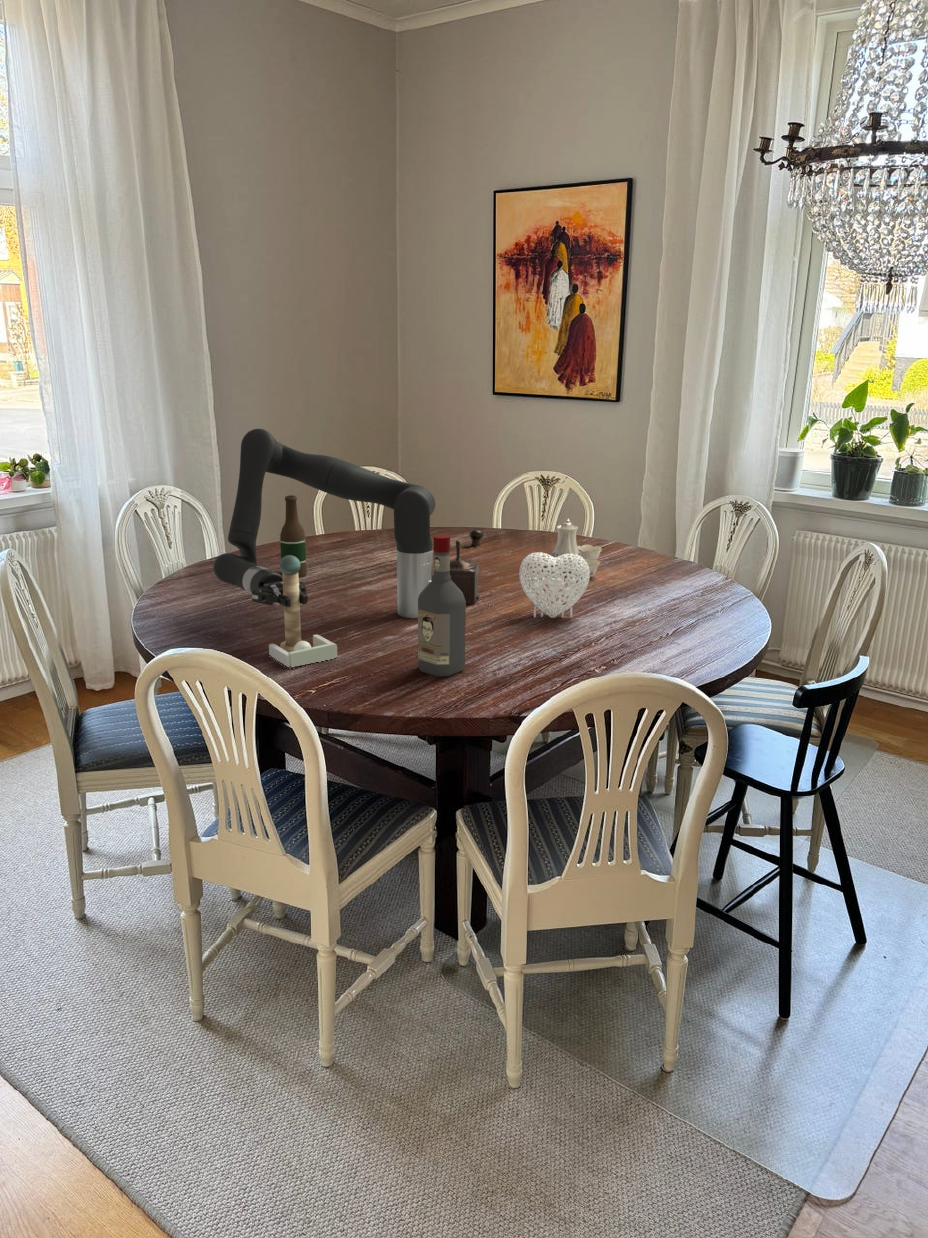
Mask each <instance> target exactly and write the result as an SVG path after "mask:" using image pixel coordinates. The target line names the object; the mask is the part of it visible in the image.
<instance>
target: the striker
mask: <svg viewBox="0 0 928 1238" xmlns="http://www.w3.org/2000/svg"><path fill="white" fill-rule="evenodd" d="M279 569H280V571H281V576H282V579H283V595H285V596H287V597H289V598H290V602H291V607H285V606H283V615H284V616H283V617H284V618H283V619H284V620H283V621H284V622H283V623H284V640H283V641H282V642H281V643H280V644H279V645H280V646H279V647H280V648H282V649H284V650H285V651H287V652H293V651H294V647H295V645H296V643H298V642H299V641H303V639H302V629H301V627H302V626H301V624H302V623H301V606H300V605H301V603H300V599H299V583H300V578H299V574H298V571H299V570H300V561H299V560H298V558H296V557H295V556H292V555H287V556H285V557H283V558H282V559H281V558H280V562H279ZM282 572H283V573H282Z"/></svg>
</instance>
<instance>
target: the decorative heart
mask: <svg viewBox="0 0 928 1238" xmlns="http://www.w3.org/2000/svg"><path fill="white" fill-rule="evenodd" d="M550 555H551V554H548V553H545V552H541V551H540V552H531V553H530V554H527V556H525V557H524V559H523V560H522V561H521V562H520V563H521V564H520V566H519V571H518V573H519V575H518V576H519V583H520V585H521V588H522V590H523V592H524V594H525V595H526V596H527V598H528V599H529V600H530V602H531V603H533V605H534V606H533V607H534V608H533V618H537V609H538V610H539V611H541V612H540V617H541V618H543V617H544V614H545V615H547V616H548V617H550V619H555V618H557V616H560V615H561V618H563V619H564V618H565V611H567V610H569V609H570V611H569V618H570V619H572V618H573V609H574V608H573V606H574V605H575V604H576V603H577V602H578V601H579V600H580V599H581V597H582V596H583V595H584V593H585V592H586V590H587V588H588V585H589V582H590V579H589V577H590V578H591V576H590V571H589V566H588V564H587V562H586V561H585V560H584V559H583V558H582V557H581V556H579V555H577V554H564V555H561V556H558V557H552V556H550ZM568 556H569V557H568ZM572 556H573V557H572ZM568 558H571V559H570V560H568ZM578 560H579V561H578ZM563 561H566V562H563ZM569 561H571V563H569ZM575 561H576V562H575ZM556 562H557V563H556ZM573 563H575V564H573ZM577 563H579V565H578V564H577ZM581 563H582V564H581ZM565 564H567V565H565ZM551 565H553V567H552V566H551ZM555 565H558V566H557V567H556V566H555ZM570 565H572V566H570ZM574 565H576V566H574ZM573 567H574V568H573ZM559 568H561V569H559ZM564 568H566V569H564ZM578 568H579V569H578ZM569 569H570V570H569ZM576 569H577V571H576ZM581 570H582V571H581ZM564 571H566V573H562V572H564ZM569 571H571V573H568V572H569ZM578 571H579V572H578ZM576 574H577V575H576ZM579 575H580V576H579ZM565 577H566V578H565ZM581 577H582V578H581ZM584 577H585V578H584ZM566 585H567V586H566ZM544 590H545V591H544ZM560 590H561V591H560ZM559 591H560V592H559ZM564 603H565V604H564Z"/></svg>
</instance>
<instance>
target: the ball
mask: <svg viewBox="0 0 928 1238" xmlns="http://www.w3.org/2000/svg"><path fill="white" fill-rule="evenodd" d="M311 647H312V646H311V643H310V642H308V641H306V640H302V641H299V642H298V643H296V645H295V647H294V651H297V650H302V649H306V648H311Z"/></svg>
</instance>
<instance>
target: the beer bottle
mask: <svg viewBox="0 0 928 1238" xmlns="http://www.w3.org/2000/svg"><path fill="white" fill-rule="evenodd" d="M284 501H285V521H284V524H283V526H282V527H281V531H280V535H279V536H280V537H279V542H280V544H279V545H280V546H279V547H280V560H281V559H282V558H283V557H285V556H287V555H292V556H295V557H296V558H298V560H299V561H300V570H299V571H298V574H299V579H300V578H304V577H307V549H306V547H307V546H306V534H305V533H306V532H305V531H304V528H303V526H302V524H301V523H300V520H299V516H298V505H297V501H298V497H297V496H296V495H293V494H291V495H285V497H284ZM282 573H283V572H282V571H281V574H282Z"/></svg>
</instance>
